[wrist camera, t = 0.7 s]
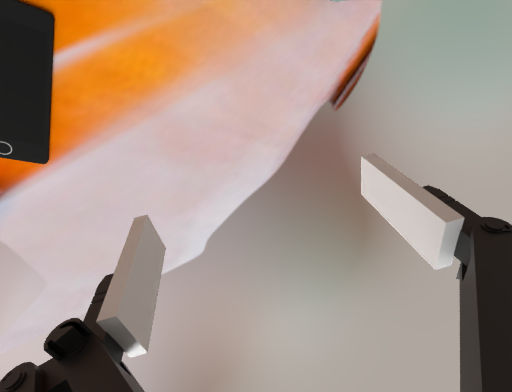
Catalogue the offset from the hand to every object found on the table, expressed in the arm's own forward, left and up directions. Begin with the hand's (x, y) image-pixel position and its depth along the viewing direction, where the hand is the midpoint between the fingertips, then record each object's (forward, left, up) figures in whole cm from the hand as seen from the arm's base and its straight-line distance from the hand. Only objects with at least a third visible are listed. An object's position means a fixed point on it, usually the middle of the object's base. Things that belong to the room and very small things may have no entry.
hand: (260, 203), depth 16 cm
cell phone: (-15, -15, -28) cm, 35 cm away
